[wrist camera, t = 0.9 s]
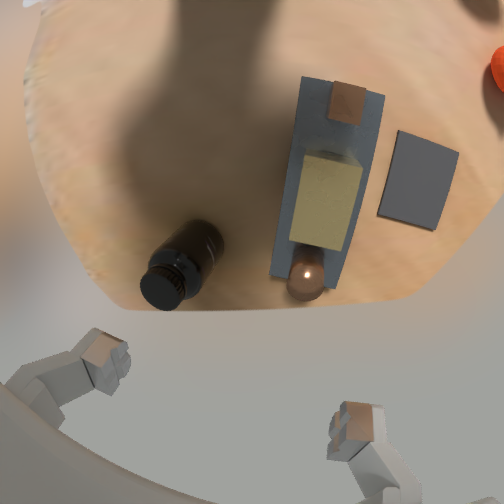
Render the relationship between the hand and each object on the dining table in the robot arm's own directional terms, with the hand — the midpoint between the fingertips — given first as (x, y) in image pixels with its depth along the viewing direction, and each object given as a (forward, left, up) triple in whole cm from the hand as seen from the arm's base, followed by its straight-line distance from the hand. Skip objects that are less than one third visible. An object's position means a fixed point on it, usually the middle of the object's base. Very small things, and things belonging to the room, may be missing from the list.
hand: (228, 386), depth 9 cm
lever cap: (-1, +3, -22) cm, 23 cm away
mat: (-4, +14, -26) cm, 30 cm away
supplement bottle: (+10, -11, -27) cm, 31 cm away
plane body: (-1, +3, -26) cm, 26 cm away
